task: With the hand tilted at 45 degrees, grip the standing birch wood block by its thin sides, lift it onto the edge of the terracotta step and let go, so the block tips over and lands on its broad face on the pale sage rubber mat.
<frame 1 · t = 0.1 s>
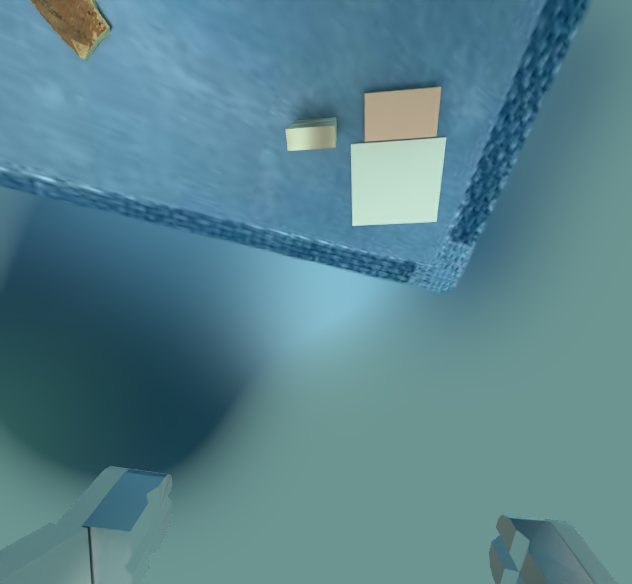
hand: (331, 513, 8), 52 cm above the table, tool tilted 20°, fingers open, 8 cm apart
shard: (73, 23, 47), on the table
rubber mat: (395, 184, 54), on the table
terracotta step: (398, 113, 49), on the table
birch block: (316, 127, 51), on the table
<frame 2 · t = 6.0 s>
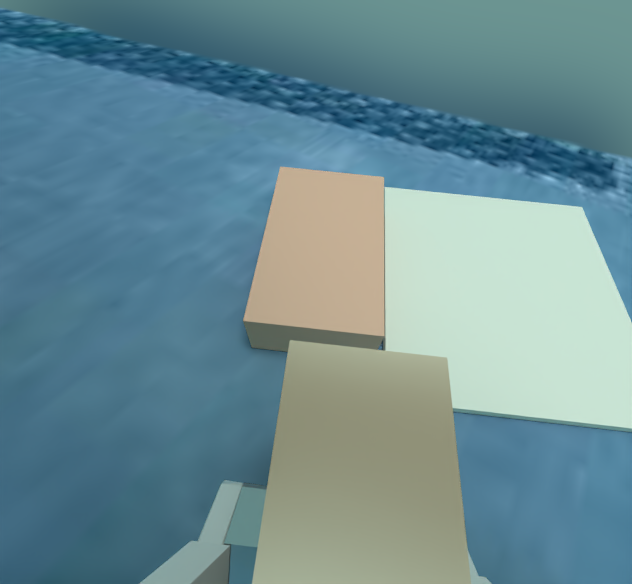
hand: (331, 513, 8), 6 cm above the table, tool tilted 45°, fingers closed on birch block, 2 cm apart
rubber mat: (496, 291, 19), on the table
terracotta step: (321, 272, 19), on the table
birch block: (318, 527, 13), on the table, touching gripper
when the fingers open (10 cm above the table, at t = 10.7 s): birch block drops 1 cm, resting on terracotta step.
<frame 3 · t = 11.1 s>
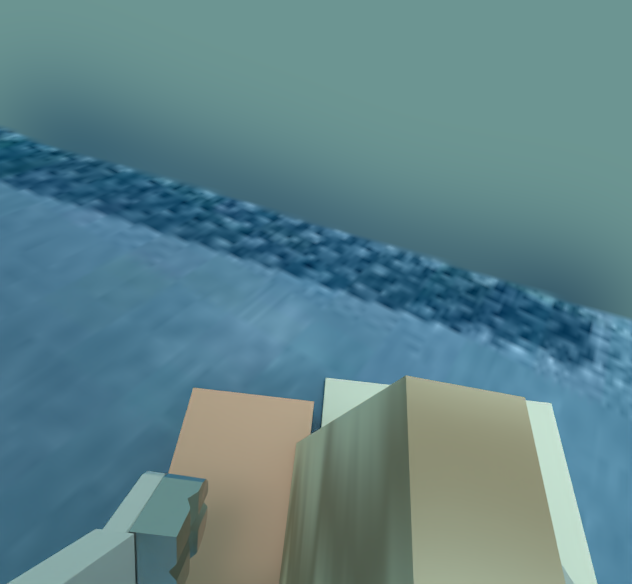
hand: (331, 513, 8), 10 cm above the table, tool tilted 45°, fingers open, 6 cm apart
rubber mat: (445, 537, 16), on the table
terracotta step: (240, 512, 17), on the table
birch block: (315, 525, 14), point 3 cm above the table, tilted 11°, touching gripper, terracotta step
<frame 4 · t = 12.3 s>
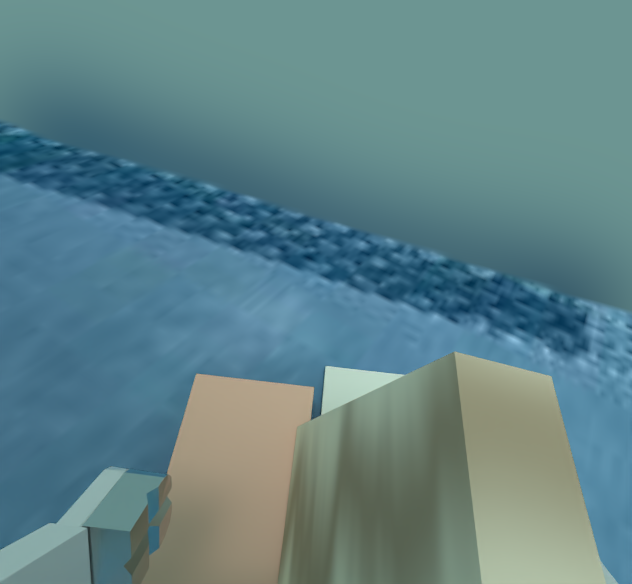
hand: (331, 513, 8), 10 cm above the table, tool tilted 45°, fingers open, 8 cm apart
rubber mat: (442, 520, 17), on the table
terracotta step: (242, 495, 17), on the table
birch block: (315, 505, 15), point 3 cm above the table, tilted 17°, touching terracotta step
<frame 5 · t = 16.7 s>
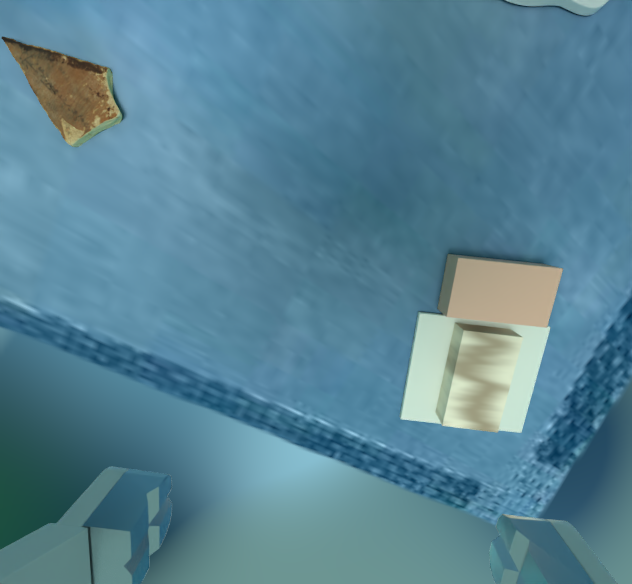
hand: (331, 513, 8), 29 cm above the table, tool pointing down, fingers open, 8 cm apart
shard: (72, 103, 34), on the table
rubber mat: (470, 372, 38), on the table
terracotta step: (489, 286, 36), on the table
birch block: (487, 329, 35), point 2 cm above the table, tilted 90°, touching rubber mat
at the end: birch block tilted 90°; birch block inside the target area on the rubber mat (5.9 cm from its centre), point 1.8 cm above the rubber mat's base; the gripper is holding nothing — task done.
